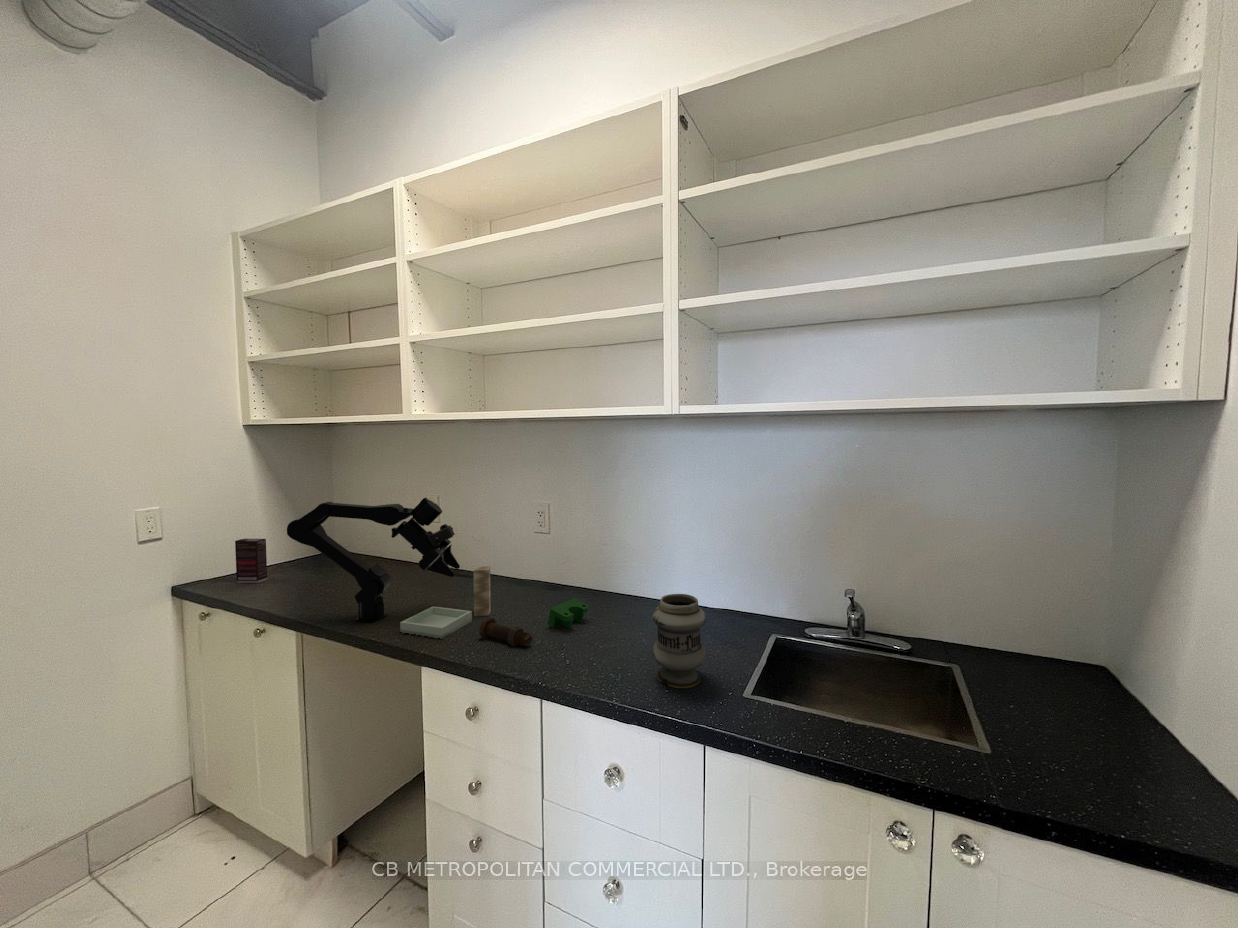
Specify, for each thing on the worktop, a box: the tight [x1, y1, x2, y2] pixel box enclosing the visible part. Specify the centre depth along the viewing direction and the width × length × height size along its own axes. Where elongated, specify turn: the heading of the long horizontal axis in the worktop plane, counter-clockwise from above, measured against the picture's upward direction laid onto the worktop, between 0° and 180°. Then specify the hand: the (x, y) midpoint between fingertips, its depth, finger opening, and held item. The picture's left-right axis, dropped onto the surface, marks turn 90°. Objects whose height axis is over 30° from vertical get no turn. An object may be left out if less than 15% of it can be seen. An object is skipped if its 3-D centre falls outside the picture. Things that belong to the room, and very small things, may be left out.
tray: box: [399, 606, 473, 640], centre depth 139 cm, size 14×14×3 cm
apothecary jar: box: [651, 593, 707, 689], centre depth 110 cm, size 12×12×18 cm
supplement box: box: [234, 538, 268, 584], centre depth 183 cm, size 9×5×16 cm, turn 88°
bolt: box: [478, 616, 533, 647], centre depth 129 cm, size 6×5×15 cm
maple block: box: [473, 565, 492, 617], centre depth 150 cm, size 4×4×14 cm
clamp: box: [547, 597, 589, 630], centre depth 142 cm, size 12×6×9 cm, turn 141°
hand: (456, 571), depth 148 cm, fingers open, 9 cm apart
